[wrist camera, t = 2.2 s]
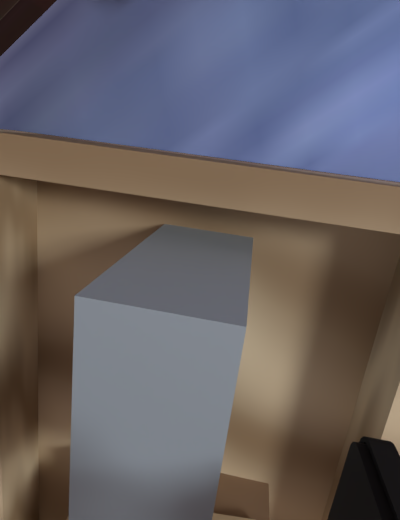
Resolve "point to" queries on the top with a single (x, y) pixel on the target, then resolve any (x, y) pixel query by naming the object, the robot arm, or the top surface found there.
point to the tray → (258, 318)
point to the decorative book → (18, 18)
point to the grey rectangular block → (157, 376)
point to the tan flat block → (241, 498)
